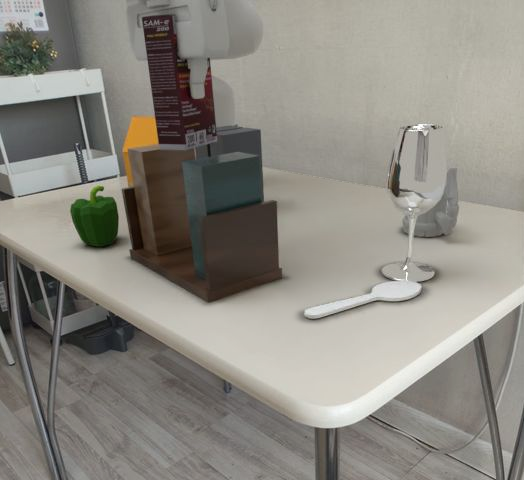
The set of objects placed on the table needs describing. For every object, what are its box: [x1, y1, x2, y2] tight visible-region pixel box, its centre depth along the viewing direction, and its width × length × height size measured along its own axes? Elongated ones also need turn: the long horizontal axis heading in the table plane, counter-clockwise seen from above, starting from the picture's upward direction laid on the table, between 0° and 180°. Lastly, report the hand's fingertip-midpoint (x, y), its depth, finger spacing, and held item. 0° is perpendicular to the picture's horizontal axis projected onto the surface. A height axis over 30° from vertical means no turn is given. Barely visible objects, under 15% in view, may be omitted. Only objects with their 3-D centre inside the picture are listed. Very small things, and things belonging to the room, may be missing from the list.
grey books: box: [195, 125, 265, 202], centre depth 110 cm, size 11×9×16 cm
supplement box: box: [142, 14, 217, 151], centre depth 72 cm, size 9×5×16 cm, turn 153°
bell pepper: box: [69, 185, 120, 247], centre depth 96 cm, size 8×8×10 cm
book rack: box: [121, 144, 283, 303], centre depth 80 cm, size 25×13×18 cm, turn 37°
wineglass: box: [381, 123, 448, 283], centre depth 73 cm, size 8×8×20 cm
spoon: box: [303, 280, 422, 320], centre depth 70 cm, size 5×18×1 cm, turn 116°
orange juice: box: [122, 116, 159, 187], centre depth 102 cm, size 8×9×20 cm
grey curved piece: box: [401, 166, 460, 238], centre depth 90 cm, size 8×12×12 cm, turn 20°
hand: (182, 97), depth 73 cm, fingers closed on supplement box, 6 cm apart
